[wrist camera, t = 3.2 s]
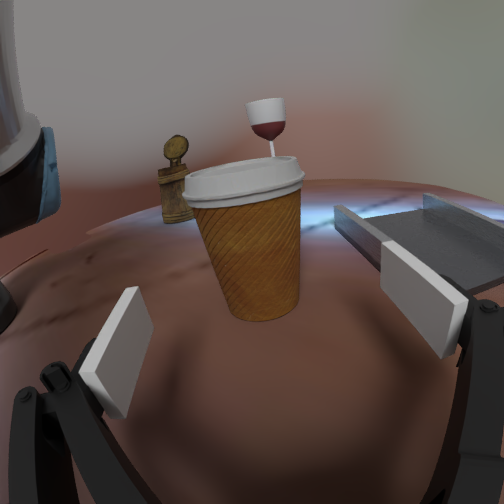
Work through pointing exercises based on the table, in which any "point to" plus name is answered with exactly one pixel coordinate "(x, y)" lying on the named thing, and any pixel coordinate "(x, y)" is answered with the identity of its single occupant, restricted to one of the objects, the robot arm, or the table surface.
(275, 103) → the wineglass
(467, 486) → the robot arm
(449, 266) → the tray
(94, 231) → the table surface
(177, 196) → the wooden mug
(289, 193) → the disposable coffee cup
